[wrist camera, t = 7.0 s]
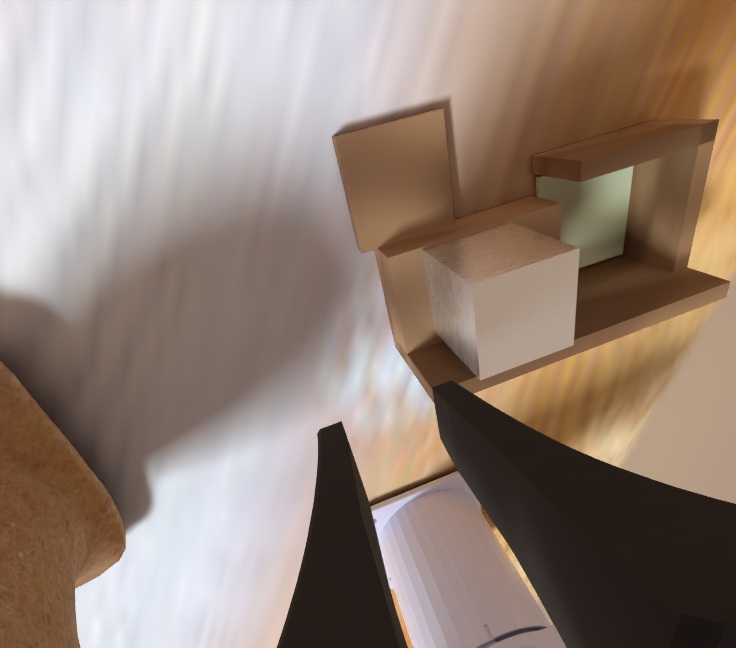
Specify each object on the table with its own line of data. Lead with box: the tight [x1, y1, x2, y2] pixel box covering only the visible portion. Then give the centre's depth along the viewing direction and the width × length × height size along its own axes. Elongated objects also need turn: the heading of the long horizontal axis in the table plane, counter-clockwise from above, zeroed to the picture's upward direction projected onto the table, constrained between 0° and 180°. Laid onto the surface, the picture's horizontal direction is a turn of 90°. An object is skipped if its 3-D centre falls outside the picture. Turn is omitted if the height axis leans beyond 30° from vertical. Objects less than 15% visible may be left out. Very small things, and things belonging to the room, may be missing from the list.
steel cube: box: [422, 222, 580, 380], centre depth 15 cm, size 4×4×4 cm
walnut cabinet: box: [332, 109, 730, 404], centre depth 16 cm, size 10×15×5 cm
